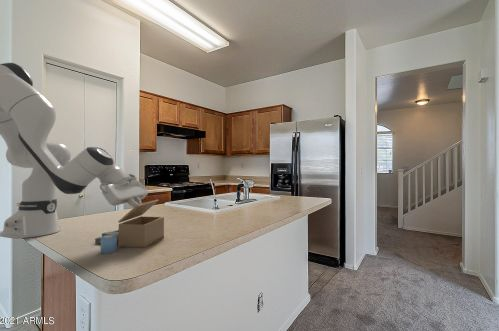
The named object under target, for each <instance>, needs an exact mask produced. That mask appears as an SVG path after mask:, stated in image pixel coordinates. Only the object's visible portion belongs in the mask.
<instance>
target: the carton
mask: <svg viewBox="0 0 499 331" xmlns="http://www.w3.org/2000/svg"><path fill="white" fill-rule="evenodd" d="M118 230H119V243H118V247H119V248H120V247H121V248H123V247H124V248H144V249H145V248H147V247H149V246H151V245H152V244H153V243H155V242H157V241H160V240H161V239H163V238H164V237H165V217H164V216H145V215H144V216H143V215H141V216H138V217H135V218H132V219H129V220H126V221H123V222H120V223H118Z"/></svg>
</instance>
